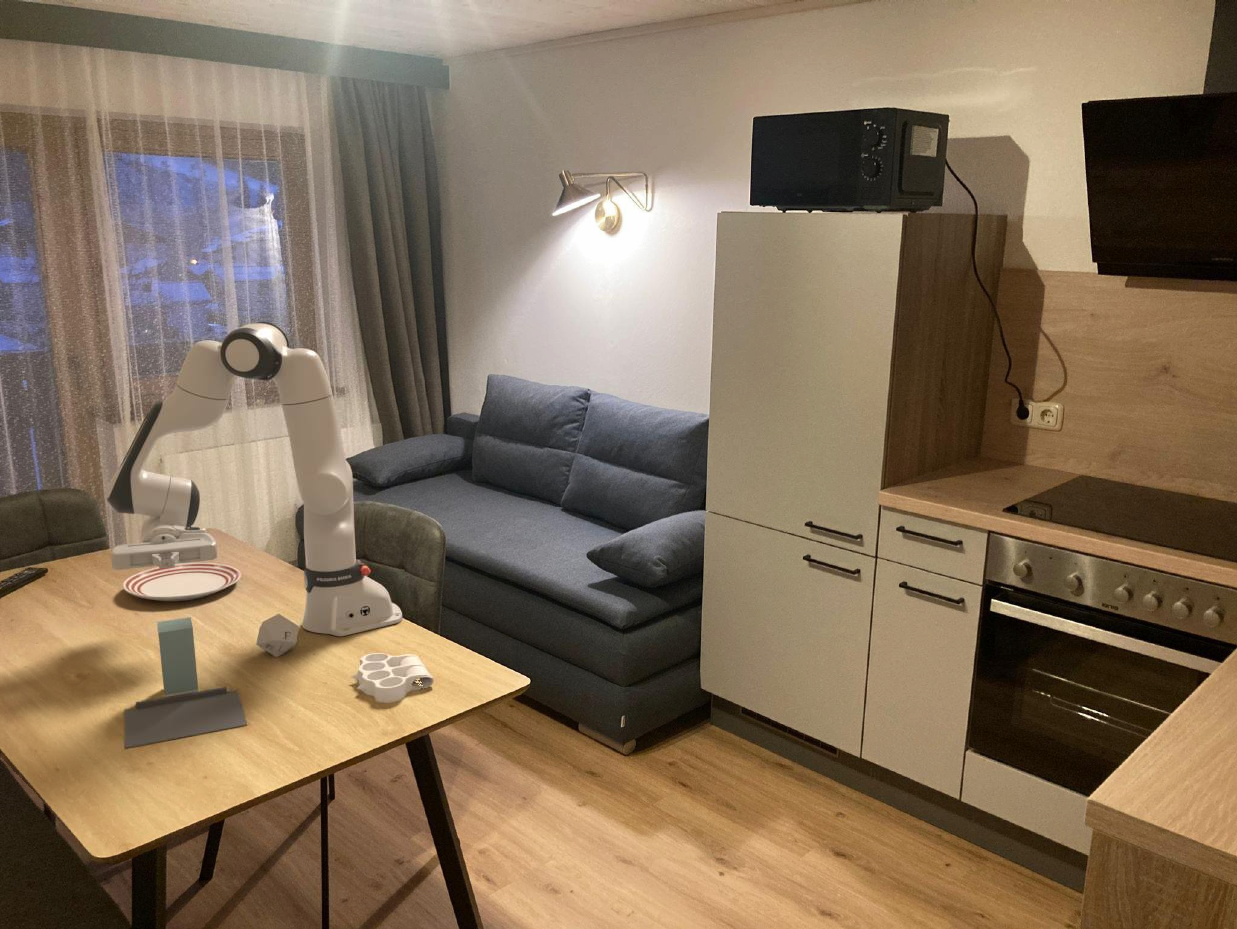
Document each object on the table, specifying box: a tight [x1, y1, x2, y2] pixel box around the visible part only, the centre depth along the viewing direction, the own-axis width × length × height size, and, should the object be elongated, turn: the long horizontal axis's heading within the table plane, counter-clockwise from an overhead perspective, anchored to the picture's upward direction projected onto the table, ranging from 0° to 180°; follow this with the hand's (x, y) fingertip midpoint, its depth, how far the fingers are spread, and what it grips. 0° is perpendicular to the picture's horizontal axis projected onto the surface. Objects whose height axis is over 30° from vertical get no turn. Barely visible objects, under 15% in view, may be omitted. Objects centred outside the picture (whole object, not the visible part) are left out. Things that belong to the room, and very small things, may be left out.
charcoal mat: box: [124, 686, 248, 750], centre depth 183 cm, size 20×16×1 cm
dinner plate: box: [122, 562, 242, 602], centre depth 250 cm, size 28×27×3 cm
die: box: [255, 613, 299, 658], centre depth 212 cm, size 8×9×10 cm
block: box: [157, 616, 199, 697], centre depth 192 cm, size 6×6×14 cm
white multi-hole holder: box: [350, 652, 434, 704], centre depth 199 cm, size 3×18×15 cm
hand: (166, 563), depth 202 cm, fingers closed
